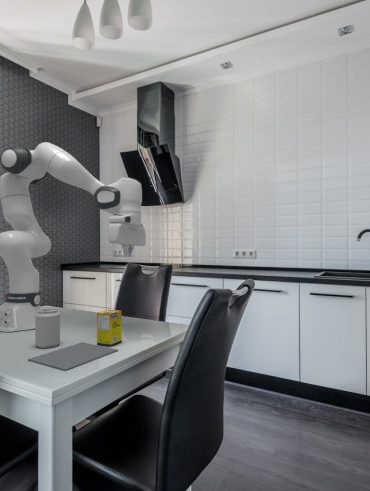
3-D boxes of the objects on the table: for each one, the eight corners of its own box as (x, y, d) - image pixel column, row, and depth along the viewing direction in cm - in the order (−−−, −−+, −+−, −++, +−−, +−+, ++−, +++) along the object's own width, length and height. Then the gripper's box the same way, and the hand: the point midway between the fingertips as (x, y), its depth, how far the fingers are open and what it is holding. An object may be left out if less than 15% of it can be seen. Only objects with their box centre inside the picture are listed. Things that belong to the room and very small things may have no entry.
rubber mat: (82, 343, 113) (82, 342, 113) (118, 350, 105) (118, 349, 105) (27, 360, 96) (27, 359, 96) (65, 371, 88) (65, 369, 88)
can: (46, 341, 115) (46, 306, 115) (64, 343, 113) (64, 307, 113) (30, 348, 108) (30, 310, 108) (49, 350, 106) (49, 311, 106)
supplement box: (122, 342, 114) (122, 310, 114) (110, 347, 109) (110, 313, 109) (108, 340, 117) (108, 308, 117) (96, 344, 111) (96, 311, 111)
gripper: (136, 223, 138) (135, 257, 137) (105, 217, 119) (104, 256, 118) (150, 223, 135) (148, 258, 134) (120, 216, 116) (118, 256, 116)
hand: (127, 257), depth 126 cm, fingers closed
